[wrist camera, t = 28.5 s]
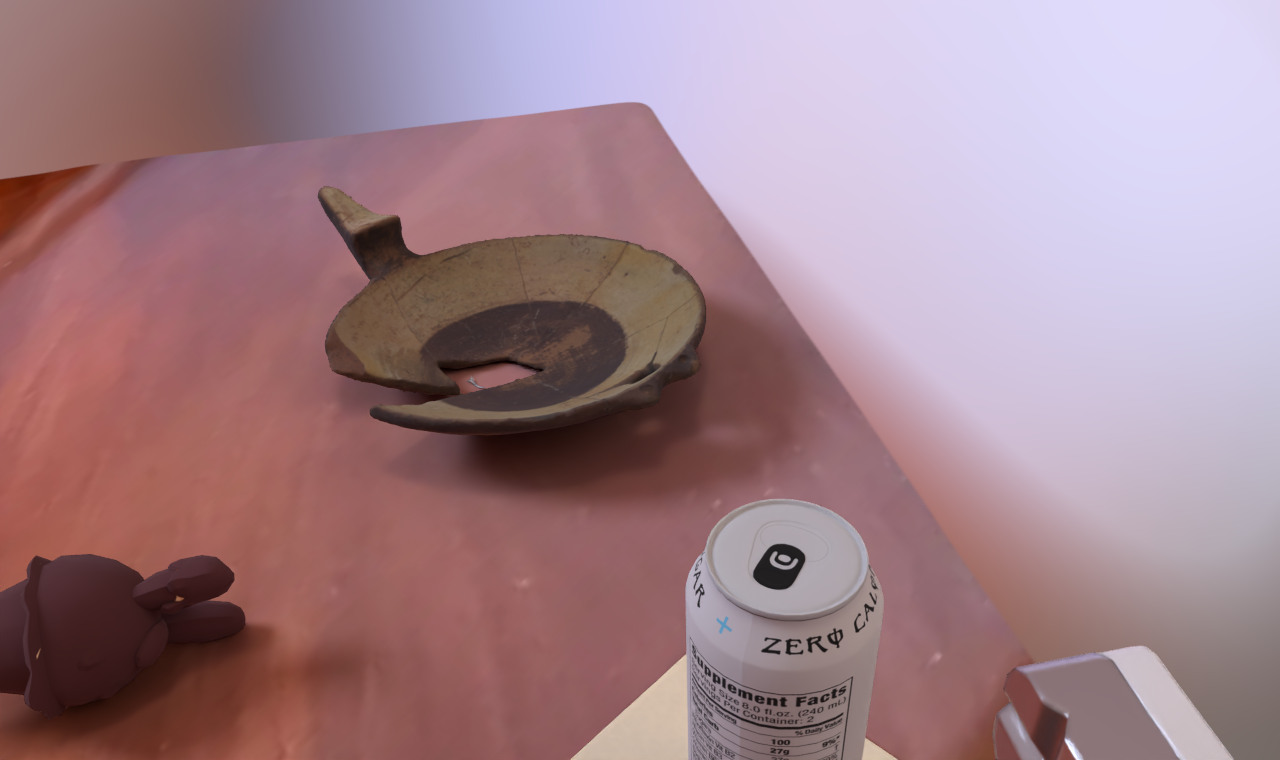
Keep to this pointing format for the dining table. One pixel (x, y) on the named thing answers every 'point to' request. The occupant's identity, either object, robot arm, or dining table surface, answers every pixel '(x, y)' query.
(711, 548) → the energy drink can
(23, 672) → the maroon pointed figurine
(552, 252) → the olive ceramic shallow bowl
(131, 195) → the dining table surface
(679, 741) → the beige rectangular board
